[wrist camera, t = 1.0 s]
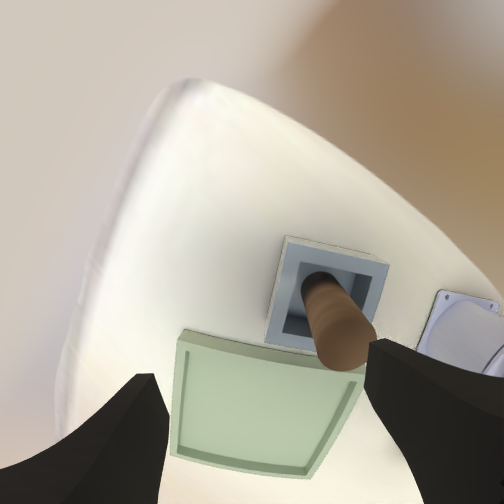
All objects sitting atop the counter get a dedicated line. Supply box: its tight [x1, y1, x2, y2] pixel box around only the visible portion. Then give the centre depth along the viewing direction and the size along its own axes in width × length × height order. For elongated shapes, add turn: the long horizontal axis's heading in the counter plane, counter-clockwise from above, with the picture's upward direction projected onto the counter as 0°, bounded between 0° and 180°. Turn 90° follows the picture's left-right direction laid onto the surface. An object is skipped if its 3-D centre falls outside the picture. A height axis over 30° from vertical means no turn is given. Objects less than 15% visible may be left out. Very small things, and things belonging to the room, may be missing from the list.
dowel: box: [301, 271, 377, 372], centre depth 17 cm, size 3×3×9 cm
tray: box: [170, 329, 366, 479], centre depth 23 cm, size 16×16×2 cm
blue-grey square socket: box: [264, 235, 389, 352], centre depth 20 cm, size 7×7×4 cm
